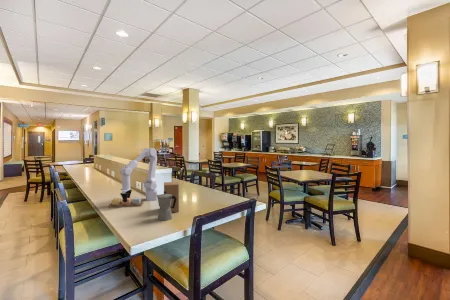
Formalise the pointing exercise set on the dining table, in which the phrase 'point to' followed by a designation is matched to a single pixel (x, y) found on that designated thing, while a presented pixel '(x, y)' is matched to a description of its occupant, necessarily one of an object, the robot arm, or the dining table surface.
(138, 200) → the slate cube
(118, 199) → the ochre cube
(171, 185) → the wooden block
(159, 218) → the coffeepot
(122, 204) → the frame
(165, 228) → the dining table surface
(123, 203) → the terracotta cube
